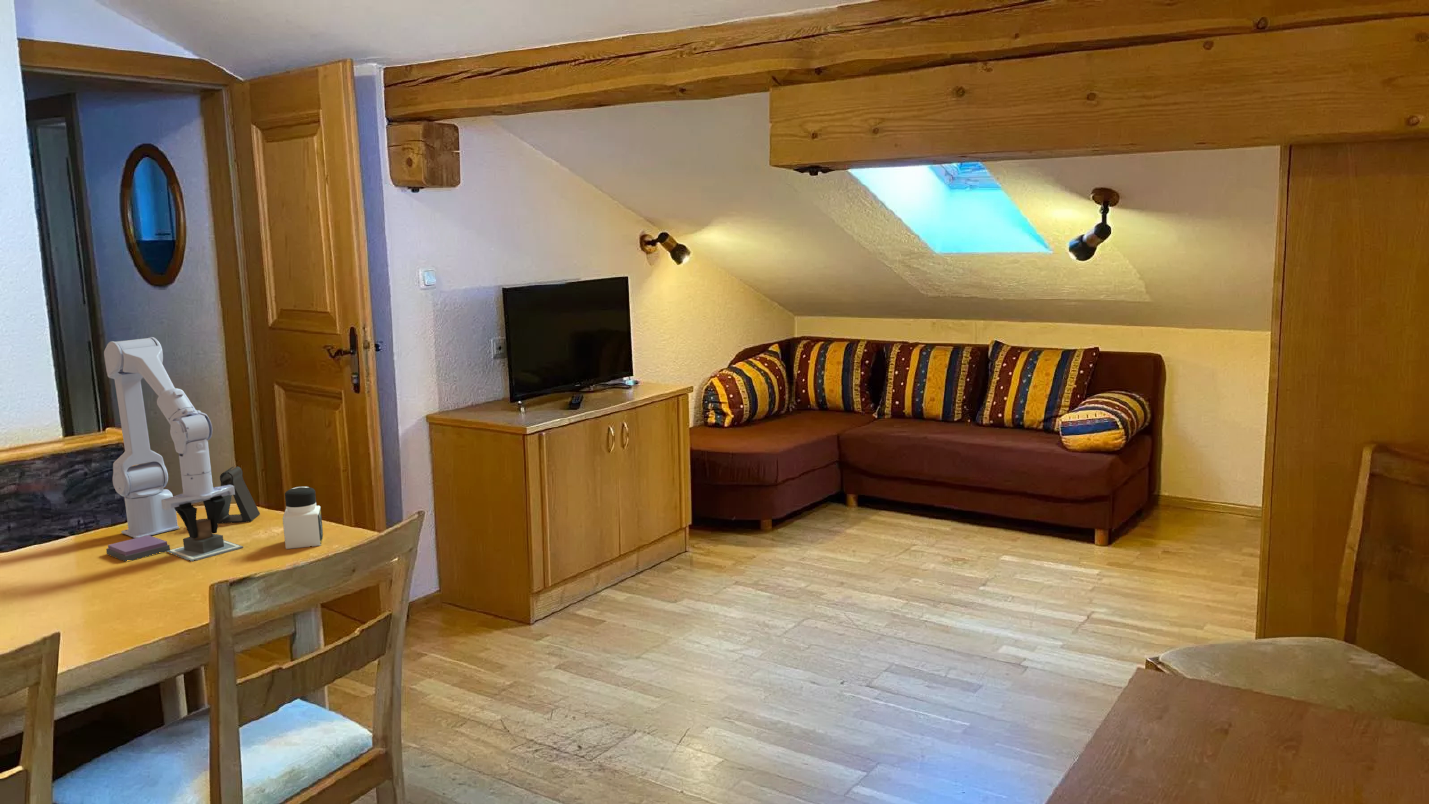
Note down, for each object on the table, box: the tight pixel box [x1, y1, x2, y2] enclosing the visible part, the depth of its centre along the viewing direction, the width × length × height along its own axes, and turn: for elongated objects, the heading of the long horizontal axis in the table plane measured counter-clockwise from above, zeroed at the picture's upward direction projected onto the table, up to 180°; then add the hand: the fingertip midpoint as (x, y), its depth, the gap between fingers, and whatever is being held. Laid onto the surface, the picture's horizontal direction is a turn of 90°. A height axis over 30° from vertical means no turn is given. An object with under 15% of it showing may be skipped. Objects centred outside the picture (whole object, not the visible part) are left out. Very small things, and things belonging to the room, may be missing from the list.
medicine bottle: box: [282, 486, 324, 550], centre depth 229 cm, size 7×7×12 cm
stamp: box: [182, 518, 224, 553], centre depth 227 cm, size 5×6×6 cm
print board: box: [165, 539, 244, 562], centre depth 227 cm, size 11×11×1 cm
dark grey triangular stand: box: [218, 465, 261, 525], centre depth 249 cm, size 9×6×12 cm, turn 94°
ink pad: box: [105, 535, 171, 562], centre depth 226 cm, size 9×9×2 cm
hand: (203, 534), depth 226 cm, fingers closed on stamp, 3 cm apart
